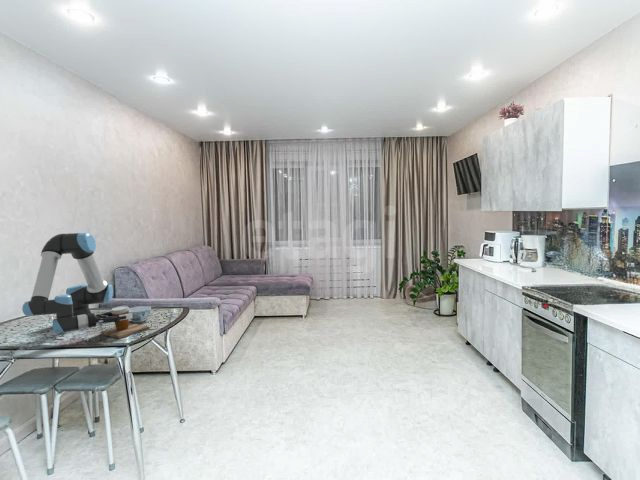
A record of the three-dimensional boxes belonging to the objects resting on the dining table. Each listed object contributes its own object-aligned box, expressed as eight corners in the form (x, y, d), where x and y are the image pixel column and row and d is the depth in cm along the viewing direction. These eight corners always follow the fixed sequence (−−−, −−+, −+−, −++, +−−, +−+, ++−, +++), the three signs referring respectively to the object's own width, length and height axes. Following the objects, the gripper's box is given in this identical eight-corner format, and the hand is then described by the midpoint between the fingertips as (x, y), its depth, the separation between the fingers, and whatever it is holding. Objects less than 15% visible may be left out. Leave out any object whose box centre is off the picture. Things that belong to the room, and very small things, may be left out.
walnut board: (101, 334, 218) (101, 331, 217) (131, 325, 233) (131, 323, 233) (119, 338, 208) (118, 335, 208) (149, 329, 223) (149, 326, 223)
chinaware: (141, 324, 233) (140, 312, 233) (120, 324, 236) (118, 312, 236) (156, 317, 248) (155, 306, 247) (136, 317, 251) (135, 306, 250)
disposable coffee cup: (117, 325, 226) (114, 306, 224) (134, 324, 227) (131, 304, 225) (110, 331, 217) (107, 311, 215) (128, 330, 218) (125, 310, 216)
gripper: (85, 322, 219) (126, 315, 232) (90, 332, 199) (134, 324, 211) (84, 309, 219) (125, 303, 231) (88, 318, 199) (133, 311, 211)
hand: (130, 313), depth 221 cm, fingers open, 13 cm apart
